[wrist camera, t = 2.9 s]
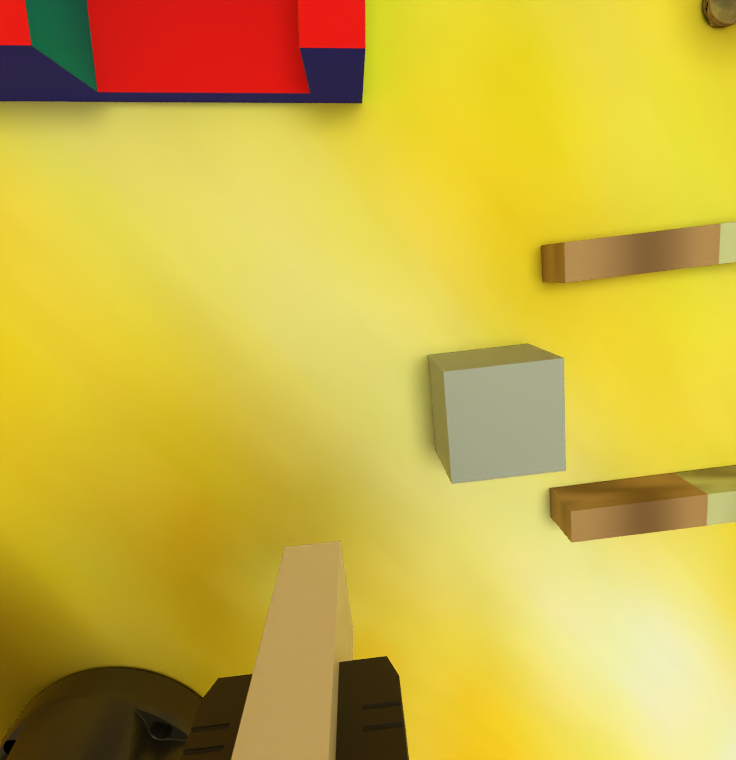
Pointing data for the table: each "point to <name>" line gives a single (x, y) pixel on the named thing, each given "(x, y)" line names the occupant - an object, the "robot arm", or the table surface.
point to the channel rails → (658, 492)
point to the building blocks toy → (182, 50)
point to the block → (498, 412)
